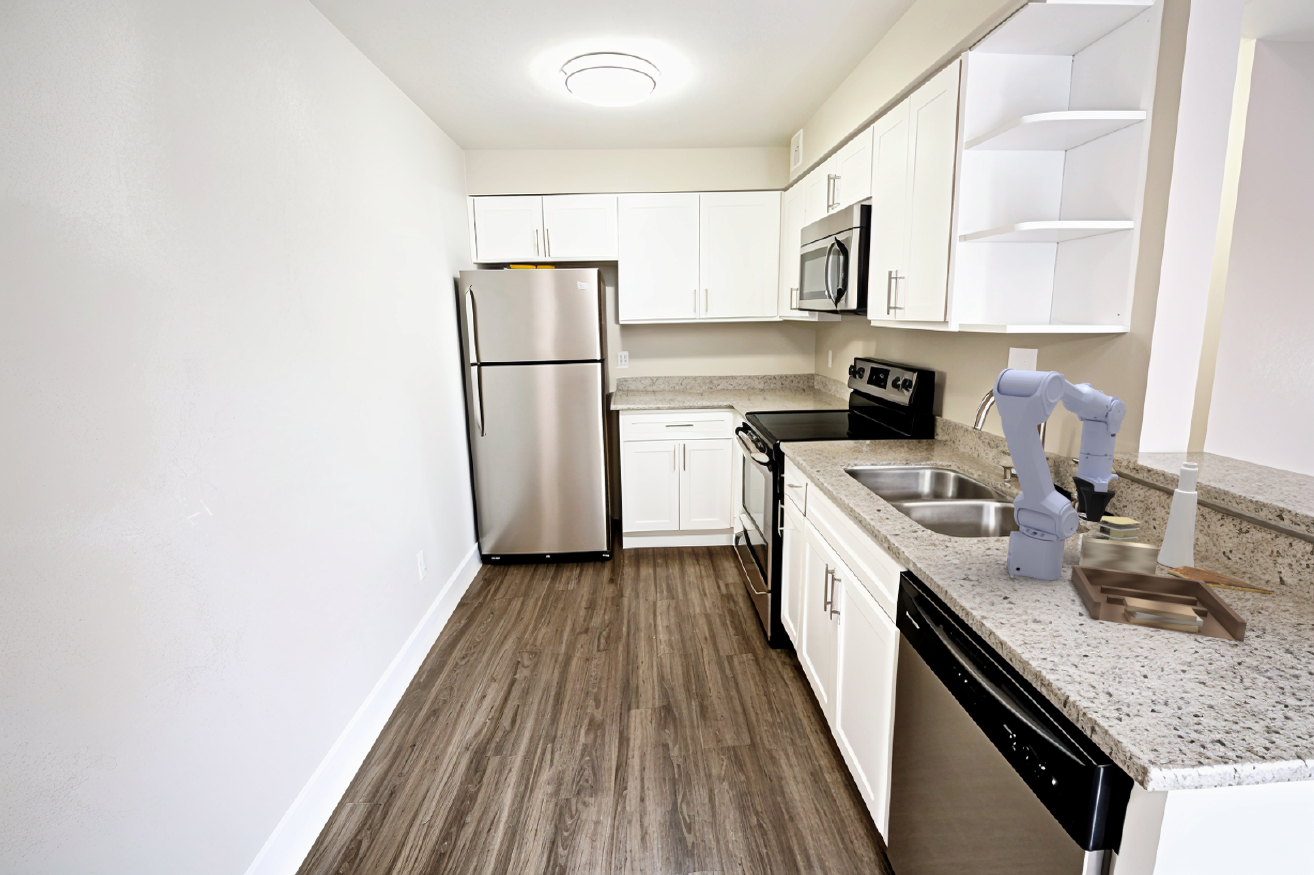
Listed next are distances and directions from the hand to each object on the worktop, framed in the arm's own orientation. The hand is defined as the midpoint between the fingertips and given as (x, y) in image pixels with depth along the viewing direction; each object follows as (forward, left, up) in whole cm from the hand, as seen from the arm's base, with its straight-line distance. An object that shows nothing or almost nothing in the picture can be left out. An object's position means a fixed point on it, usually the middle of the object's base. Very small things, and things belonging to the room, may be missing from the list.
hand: (1089, 515), depth 127 cm
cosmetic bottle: (+17, +5, -11) cm, 21 cm away
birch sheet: (+4, -6, -11) cm, 13 cm away
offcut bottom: (+5, -28, -10) cm, 30 cm away
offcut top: (+5, -28, -8) cm, 30 cm away
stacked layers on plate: (+10, +17, -11) cm, 22 cm away
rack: (+5, -22, -10) cm, 25 cm away
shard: (+21, -3, -11) cm, 24 cm away
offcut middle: (+6, -28, -9) cm, 30 cm away
